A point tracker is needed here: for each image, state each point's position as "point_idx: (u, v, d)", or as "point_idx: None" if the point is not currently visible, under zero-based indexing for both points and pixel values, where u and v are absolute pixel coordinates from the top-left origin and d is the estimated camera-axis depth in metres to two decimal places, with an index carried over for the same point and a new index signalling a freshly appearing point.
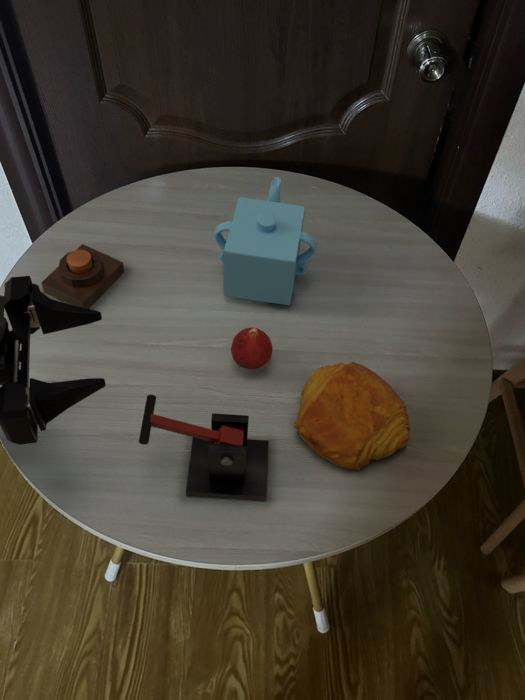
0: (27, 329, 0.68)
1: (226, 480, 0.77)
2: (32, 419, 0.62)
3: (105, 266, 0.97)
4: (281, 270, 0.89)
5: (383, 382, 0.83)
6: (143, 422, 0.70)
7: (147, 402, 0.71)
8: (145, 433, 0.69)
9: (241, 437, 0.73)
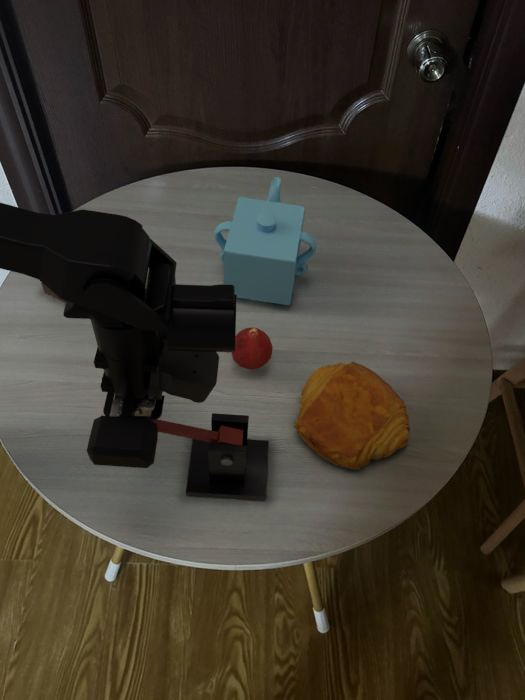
0: None
1: (226, 480, 0.77)
2: None
3: None
4: (281, 270, 0.89)
5: (383, 382, 0.83)
6: None
7: None
8: None
9: (240, 436, 0.73)
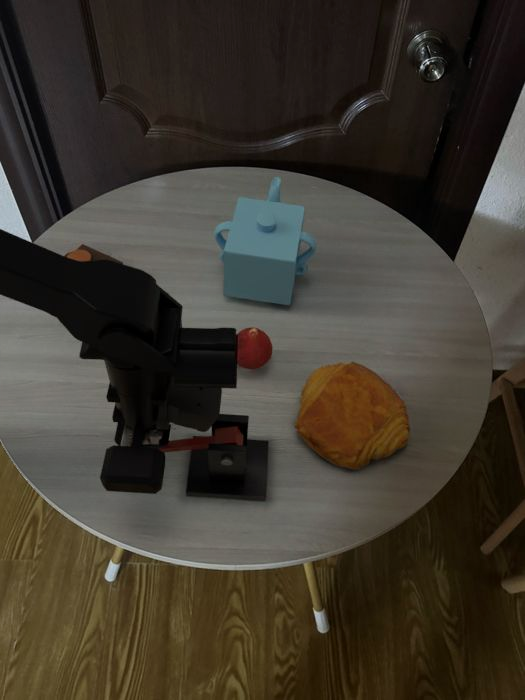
0: None
1: (226, 480, 0.77)
2: None
3: None
4: (281, 270, 0.89)
5: (383, 382, 0.83)
6: None
7: None
8: None
9: (234, 433, 0.72)
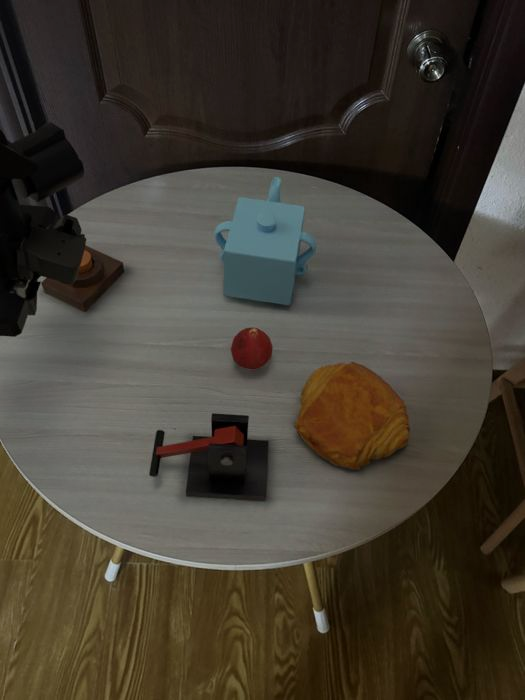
0: None
1: (226, 480, 0.77)
2: None
3: (105, 266, 0.97)
4: (281, 270, 0.89)
5: (383, 382, 0.83)
6: (152, 457, 0.76)
7: (155, 438, 0.78)
8: (151, 467, 0.75)
9: (232, 433, 0.72)
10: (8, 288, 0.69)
